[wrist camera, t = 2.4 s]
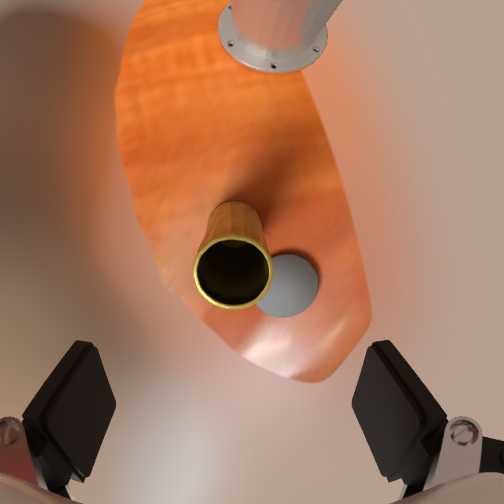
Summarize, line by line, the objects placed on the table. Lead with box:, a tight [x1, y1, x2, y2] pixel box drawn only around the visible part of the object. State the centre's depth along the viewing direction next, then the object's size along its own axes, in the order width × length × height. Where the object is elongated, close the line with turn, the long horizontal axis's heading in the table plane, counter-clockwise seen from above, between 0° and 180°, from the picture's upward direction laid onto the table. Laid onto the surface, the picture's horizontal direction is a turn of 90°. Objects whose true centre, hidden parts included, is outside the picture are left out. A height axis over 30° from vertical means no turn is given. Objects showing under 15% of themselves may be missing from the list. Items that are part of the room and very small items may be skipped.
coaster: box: [256, 254, 318, 317], centre depth 34 cm, size 8×8×1 cm
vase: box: [193, 201, 274, 309], centre depth 25 cm, size 6×6×14 cm
